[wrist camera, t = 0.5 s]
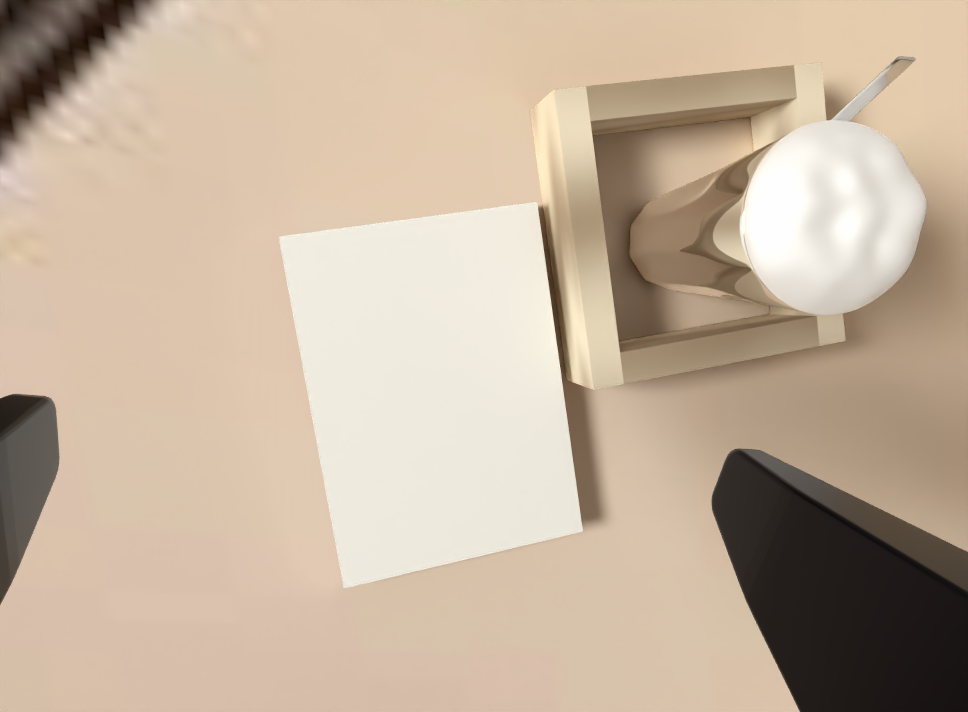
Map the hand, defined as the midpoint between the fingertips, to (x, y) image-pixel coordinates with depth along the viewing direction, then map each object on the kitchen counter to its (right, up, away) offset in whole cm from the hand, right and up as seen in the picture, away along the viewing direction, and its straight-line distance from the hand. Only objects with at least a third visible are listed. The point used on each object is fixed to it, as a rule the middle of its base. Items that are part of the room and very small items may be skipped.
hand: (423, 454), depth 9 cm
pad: (-1, 0, +14) cm, 14 cm away
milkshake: (+7, +6, +15) cm, 18 cm away
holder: (+7, +6, +15) cm, 18 cm away
